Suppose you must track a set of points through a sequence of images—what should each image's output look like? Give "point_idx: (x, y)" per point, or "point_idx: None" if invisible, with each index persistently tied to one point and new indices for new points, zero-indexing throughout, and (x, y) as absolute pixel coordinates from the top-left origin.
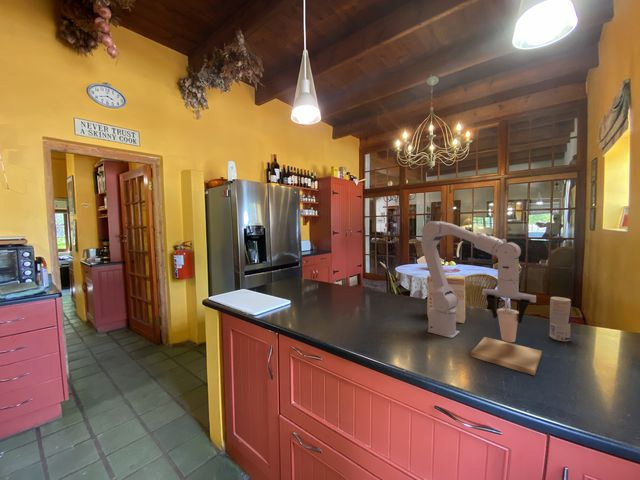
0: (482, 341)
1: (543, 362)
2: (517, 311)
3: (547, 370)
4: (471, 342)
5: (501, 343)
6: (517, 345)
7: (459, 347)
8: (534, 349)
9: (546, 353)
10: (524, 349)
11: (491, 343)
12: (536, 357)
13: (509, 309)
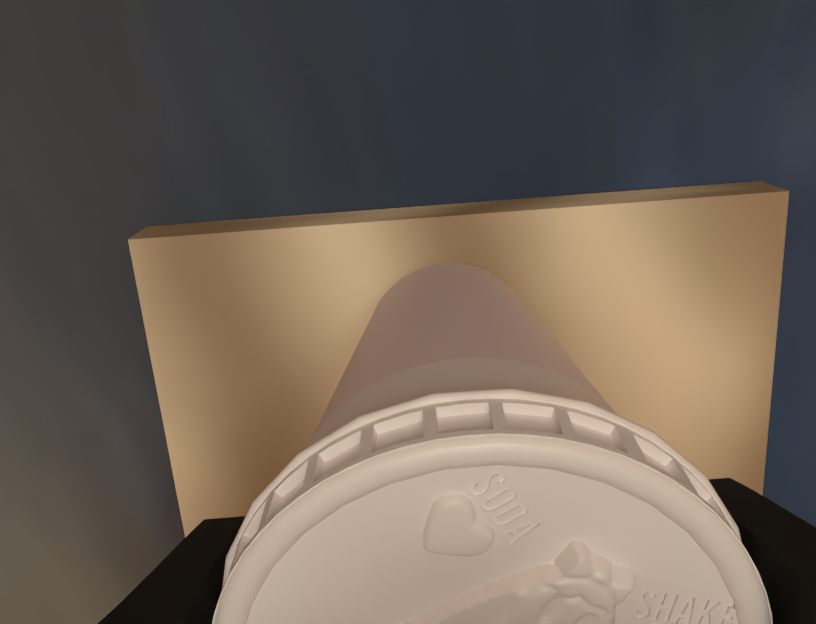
0: (181, 419)
1: (778, 360)
2: (720, 555)
3: (810, 509)
4: (67, 391)
5: (365, 311)
6: (530, 234)
7: (59, 603)
8: (712, 210)
9: (804, 66)
10: (617, 303)
11: (280, 402)
12: (744, 436)
13: (481, 470)
